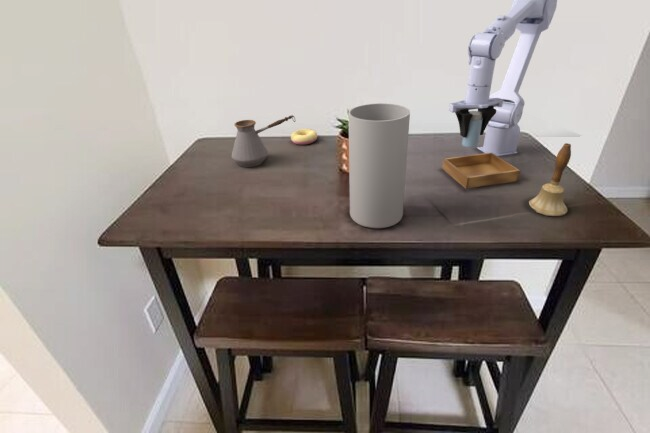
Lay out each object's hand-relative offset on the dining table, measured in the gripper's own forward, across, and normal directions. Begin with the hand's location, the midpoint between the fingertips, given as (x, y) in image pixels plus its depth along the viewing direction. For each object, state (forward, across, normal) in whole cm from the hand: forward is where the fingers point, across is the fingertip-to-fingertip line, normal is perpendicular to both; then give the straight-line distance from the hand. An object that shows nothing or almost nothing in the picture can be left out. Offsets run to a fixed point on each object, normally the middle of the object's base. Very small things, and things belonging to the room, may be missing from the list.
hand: (471, 135), depth 105 cm
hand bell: (+11, +7, -25) cm, 28 cm away
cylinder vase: (+10, -33, -17) cm, 39 cm away
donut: (+10, -41, +39) cm, 58 cm away
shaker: (+3, 0, 0) cm, 3 cm away
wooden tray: (+10, +1, -5) cm, 12 cm away
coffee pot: (+10, -56, +24) cm, 62 cm away
